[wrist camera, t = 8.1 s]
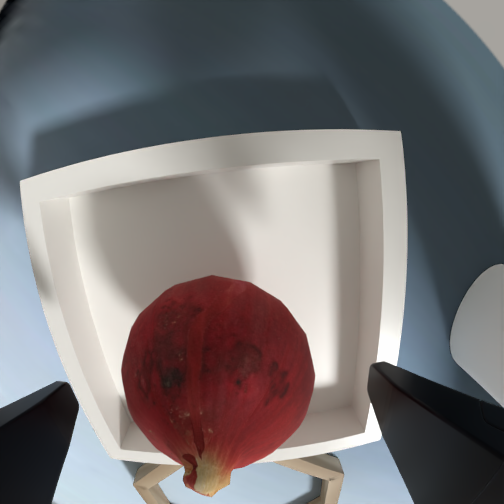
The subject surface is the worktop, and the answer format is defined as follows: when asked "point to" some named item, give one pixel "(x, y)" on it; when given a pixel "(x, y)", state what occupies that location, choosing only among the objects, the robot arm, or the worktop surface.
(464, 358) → the cylindrical container
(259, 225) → the tray
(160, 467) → the ring collar
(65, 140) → the worktop surface
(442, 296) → the worktop surface
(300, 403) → the onion
